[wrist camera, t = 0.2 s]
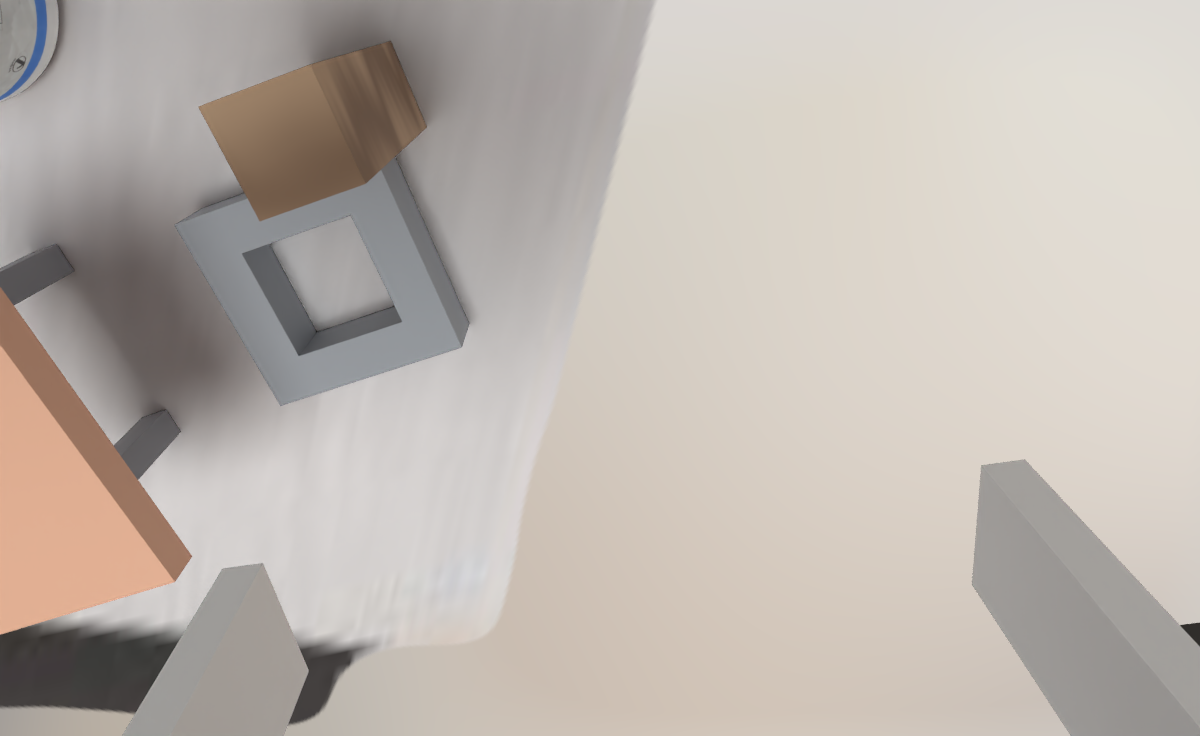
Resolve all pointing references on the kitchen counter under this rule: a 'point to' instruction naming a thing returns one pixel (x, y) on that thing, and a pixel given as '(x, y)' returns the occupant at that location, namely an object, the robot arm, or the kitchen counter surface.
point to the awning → (69, 479)
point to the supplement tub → (25, 42)
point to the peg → (316, 128)
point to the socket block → (275, 314)
